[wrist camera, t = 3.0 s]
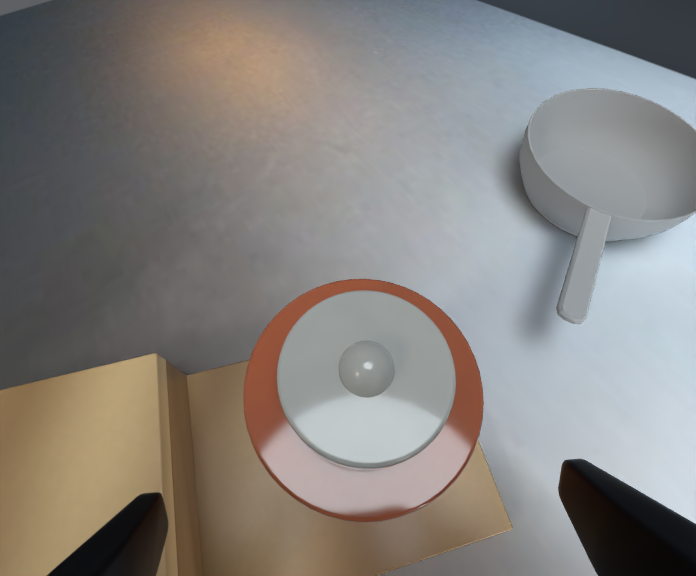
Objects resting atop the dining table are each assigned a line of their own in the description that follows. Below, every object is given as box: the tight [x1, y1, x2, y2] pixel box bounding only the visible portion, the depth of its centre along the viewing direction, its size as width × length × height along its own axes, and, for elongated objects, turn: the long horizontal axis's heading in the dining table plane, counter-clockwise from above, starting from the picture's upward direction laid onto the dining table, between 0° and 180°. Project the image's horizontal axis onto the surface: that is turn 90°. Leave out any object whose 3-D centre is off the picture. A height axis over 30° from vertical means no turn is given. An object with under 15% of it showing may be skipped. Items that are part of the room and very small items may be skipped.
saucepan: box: [520, 88, 696, 324], centre depth 23 cm, size 11×18×4 cm, turn 151°
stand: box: [0, 353, 513, 576], centre depth 16 cm, size 24×10×4 cm, turn 105°
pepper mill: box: [243, 279, 484, 522], centre depth 12 cm, size 5×5×12 cm
